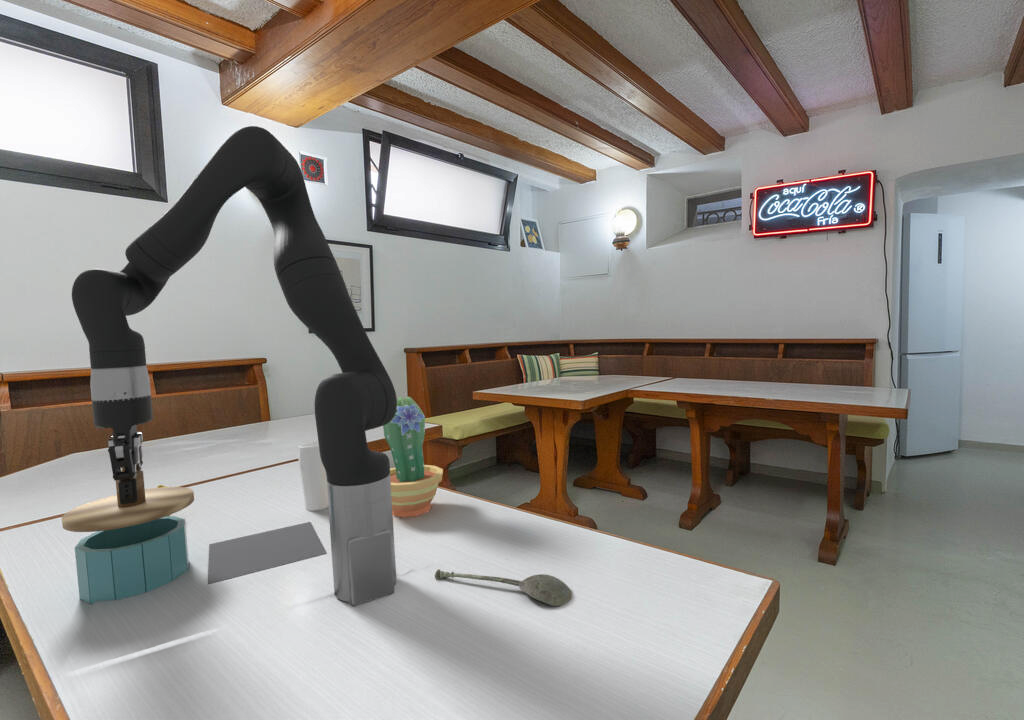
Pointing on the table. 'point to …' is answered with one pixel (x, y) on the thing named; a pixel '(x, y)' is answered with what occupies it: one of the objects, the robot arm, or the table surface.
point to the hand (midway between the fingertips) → (131, 498)
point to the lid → (128, 508)
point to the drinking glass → (313, 476)
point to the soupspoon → (527, 586)
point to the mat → (262, 551)
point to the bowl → (131, 559)
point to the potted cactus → (410, 461)
